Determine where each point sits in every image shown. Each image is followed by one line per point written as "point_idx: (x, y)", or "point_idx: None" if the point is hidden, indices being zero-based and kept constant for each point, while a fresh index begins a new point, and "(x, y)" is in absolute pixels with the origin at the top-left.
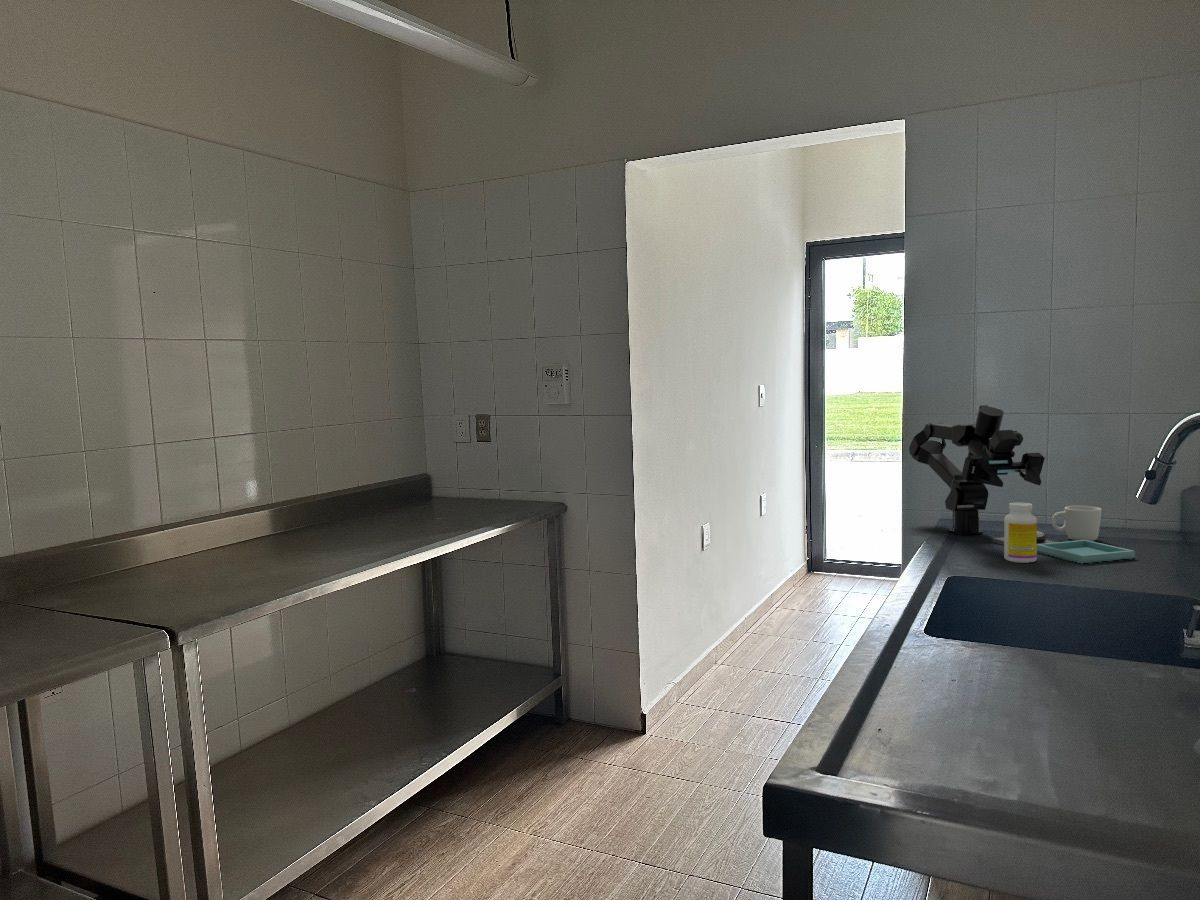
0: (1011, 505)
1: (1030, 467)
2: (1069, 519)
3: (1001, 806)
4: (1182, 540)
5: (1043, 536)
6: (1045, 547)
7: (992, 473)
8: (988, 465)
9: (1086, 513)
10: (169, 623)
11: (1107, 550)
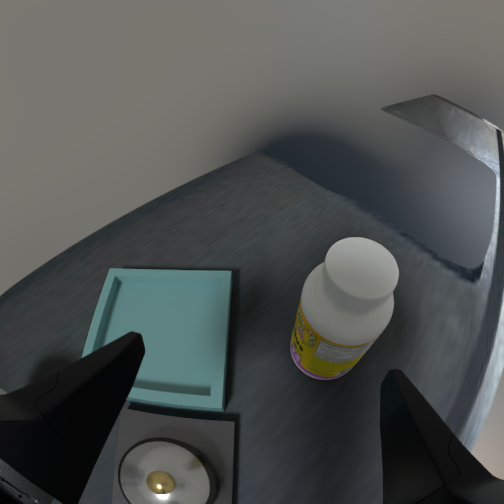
0: (396, 268)
1: (37, 427)
2: None
3: (463, 110)
4: None
5: (148, 439)
6: (224, 371)
7: (447, 438)
8: (480, 499)
9: (1, 394)
10: None
11: (105, 322)
